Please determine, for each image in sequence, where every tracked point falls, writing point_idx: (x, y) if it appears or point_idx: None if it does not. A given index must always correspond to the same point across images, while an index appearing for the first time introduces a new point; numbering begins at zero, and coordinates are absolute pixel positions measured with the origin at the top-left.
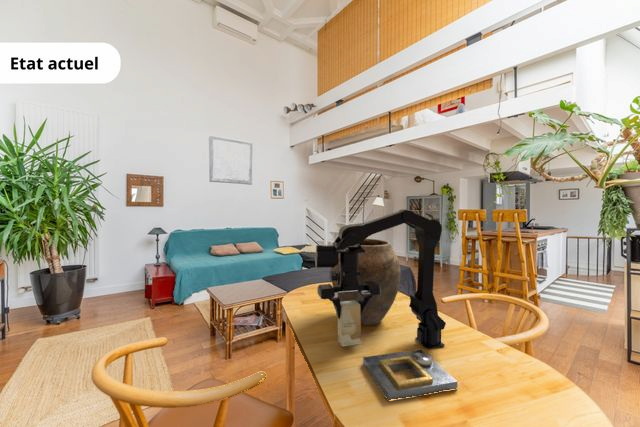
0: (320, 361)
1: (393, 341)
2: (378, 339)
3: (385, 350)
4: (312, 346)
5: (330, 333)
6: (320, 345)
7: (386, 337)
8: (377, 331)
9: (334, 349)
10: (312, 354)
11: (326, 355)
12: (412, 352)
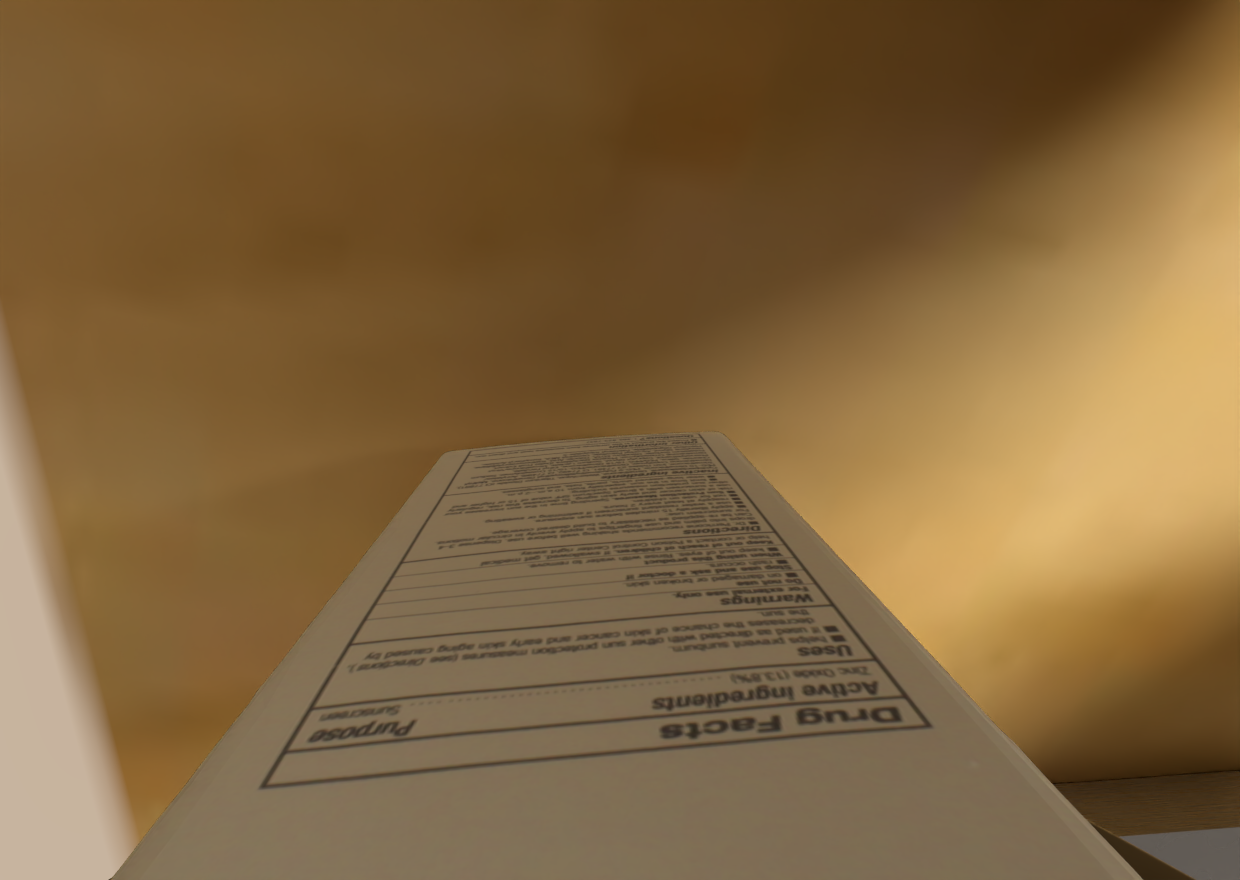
0: (188, 708)
1: (1178, 453)
2: (1033, 369)
3: (976, 621)
4: (101, 374)
5: (423, 30)
6: (219, 369)
7: (1159, 339)
8: (1144, 139)
9: (395, 500)
10: (97, 561)
11: (273, 608)
12: (1191, 863)
